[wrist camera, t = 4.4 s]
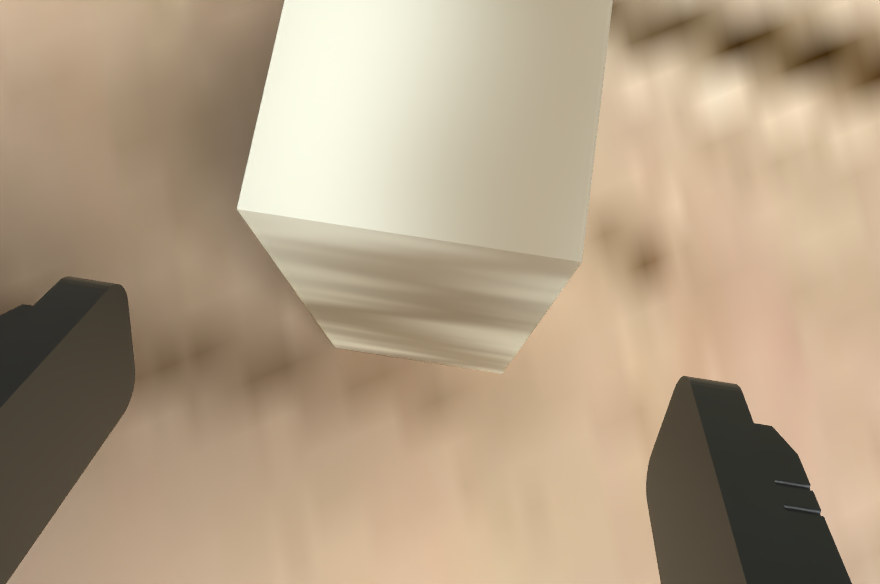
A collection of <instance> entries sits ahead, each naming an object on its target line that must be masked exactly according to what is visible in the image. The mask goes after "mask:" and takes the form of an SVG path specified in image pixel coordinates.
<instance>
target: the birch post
mask: <svg viewBox="0 0 880 584" xmlns="http://www.w3.org/2000/svg"><path fill="white" fill-rule="evenodd" d="M612 2H613V0H285V1H284V5H283V9H282V14H281V18H280V22H279V27H278V31H277V36H276V40H275V44H274V49H273V53H272V57H271V62H270V66H269V70H268V75H267V79H266V83H265V88H264V92H263V97H262V101H261V105H260V110H259V114H258V118H257V123H256V127H255V131H254V136H253V140H252V145H251V149H250V153H249V158H248V162H247V166H246V171H245V175H244V179H243V184H242V188H241V193H240V197H239V201H238V206H237V210H238V212H239V213H240V214H241V216H242V217H243V219H244V220H245V221H246V223H247V224H248V226H249V227H250V228H251V230H252V231H253V233H254V234H255V236H256V237H257V238H258V240H259V241H260V243H261V244H262V245H263V247H264V248H265V250H266V251H267V252H268V254H269V255H270V257H271V258H272V259H273V261H274V262H275V264H276V265H277V267H278V268H279V269H280V271H281V272H282V274H283V275H284V276H285V278H286V279H287V281H288V282H289V283H290V285H291V286H292V288H293V289H294V291H295V292H296V293H297V295H298V296H299V298H300V299H301V300H302V302H303V303H304V305H305V306H306V307H307V309H308V310H309V312H310V313H311V315H312V316H313V317H314V319H315V320H316V322H317V323H318V324H319V326H320V327H321V329H322V330H323V331H324V333H325V334H326V336H327V337H328V339H329V340H330V341H331V343H332V344H333V346H334V347H335V348H340V349H347V350H353V351H359V352H366V353H372V354H378V355H385V356H391V357H397V358H404V359H410V360H416V361H423V362H429V363H436V364H442V365H448V366H455V367H461V368H467V369H474V370H480V371H486V372H493V373H499V374H503V372H504V371H505V369H506V368H507V367H508V365H509V364H510V362H511V361H512V359H513V358H514V357H515V355H516V354H517V352H518V351H519V350H520V348H521V347H522V345H523V344H524V343H525V341H526V340H527V338H528V337H529V336H530V334H531V333H532V331H533V330H534V329H535V327H536V326H537V324H538V323H539V322H540V320H541V319H542V317H543V316H544V315H545V313H546V312H547V310H548V309H549V308H550V306H551V305H552V303H553V302H554V301H555V299H556V298H557V296H558V295H559V294H560V292H561V291H562V289H563V288H564V287H565V285H566V284H567V282H568V281H569V280H570V278H571V277H572V275H573V274H574V273H575V271H576V270H577V268H578V267H579V266H580V264H581V263H582V257H583V248H584V240H585V231H586V223H587V214H588V206H589V197H590V189H591V180H592V172H593V163H594V155H595V147H596V138H597V130H598V121H599V113H600V104H601V96H602V87H603V79H604V70H605V62H606V53H607V45H608V36H609V28H610V19H611V11H612Z"/></svg>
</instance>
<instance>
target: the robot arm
mask: <svg viewBox="0 0 880 584" xmlns="http://www.w3.org/2000/svg"><path fill="white" fill-rule="evenodd" d="M134 382H135V364H134V355H133V345H132V336H131V326H130V317H129V307H128V299H127V294H126V291H125V289H124V288H123V287H122V286H121V285H119V284H113V283H106V282H100V281H94V280H88V279H81V278H75V277H64V278H62V279H61V280H60V281H59V282H58V283H57V284H55V285H54V286H53V287H52V288H51V289H50V290H49V291H48V292H47V293H46V294H45V295H44V296H43V297H42V298H41V299H40V300H39V301H38V302H37V303H36V304H35V305H34V306H30V305H21V306H19V307H17V308H15V309H13V310H11V311H9V312H6V313H4V314H2V315H0V584H6V583H7V581H8V580H9V578H10V577H11V576H12V574H13V573H14V571H15V570H16V568H17V567H18V565H19V564H20V563H21V561H22V560H23V558H24V557H25V555H26V554H27V552H28V551H29V550H30V548H31V547H32V545H33V544H34V542H35V541H36V539H37V538H38V537H39V535H40V534H41V532H42V531H43V529H44V528H45V526H46V525H47V524H48V522H49V521H50V519H51V518H52V516H53V515H54V513H55V512H56V511H57V509H58V508H59V506H60V505H61V503H62V502H63V500H64V499H65V498H66V496H67V495H68V493H69V492H70V490H71V489H72V487H73V486H74V485H75V483H76V482H77V480H78V479H79V477H80V476H81V474H82V473H83V472H84V470H85V469H86V467H87V466H88V464H89V463H90V461H91V460H92V459H93V457H94V456H95V454H96V453H97V451H98V450H99V448H100V447H101V446H102V444H103V443H104V441H105V440H106V438H107V437H108V435H109V434H110V432H111V431H112V430H113V428H114V427H115V425H116V424H117V422H118V421H119V419H120V418H121V417H122V415H123V414H124V412H125V410H126V408H127V406H128V404H129V402H130V399H131V396H132V392H133V388H134ZM646 495H647V503H648V509H649V515H650V521H651V527H652V533H653V539H654V545H655V551H656V557H657V563H658V569H659V575H660V580H661V584H852V583H851V581H850V578H849V576H848V573H847V571H846V569H845V566H844V564H843V561H842V559H841V557H840V554H839V552H838V550H837V547H836V545H835V542H834V540H833V538H832V535H831V533H830V530H829V528H828V526H827V523H826V521H825V518H824V517H823V516H820V512H821V509H820V507H819V504H818V502H817V499H816V497H815V495H814V492H813V491H810V483H809V480H808V478H807V475H806V473H805V471H804V468H803V466H802V464H801V461H800V459H799V456H798V454H797V453H796V452H795V451H794V450H793V449H792V448H791V447H790V446H789V444H788V443H787V442H786V441H785V440H784V439H783V438H782V437H781V436H780V435H779V433H778V432H777V431H776V430H775V429H774V428H773V427H772V426H768V425H761V424H755V423H753V420H752V417H751V414H750V412H749V409H748V406H747V404H746V401H745V398H744V395H743V393H742V390H741V388H740V387H739V386H738V385H737V384H731V383H725V382H719V381H712V380H706V379H700V378H694V377H687V376H683V377H681V378H680V379H679V381H678V383H677V384H676V387H675V389H674V392H673V395H672V398H671V400H670V403H669V406H668V409H667V412H666V414H665V417H664V420H663V423H662V426H661V428H660V431H659V434H658V437H657V440H656V442H655V445H654V448H653V451H652V454H651V457H650V461H649V465H648V471H647V481H646Z"/></svg>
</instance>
